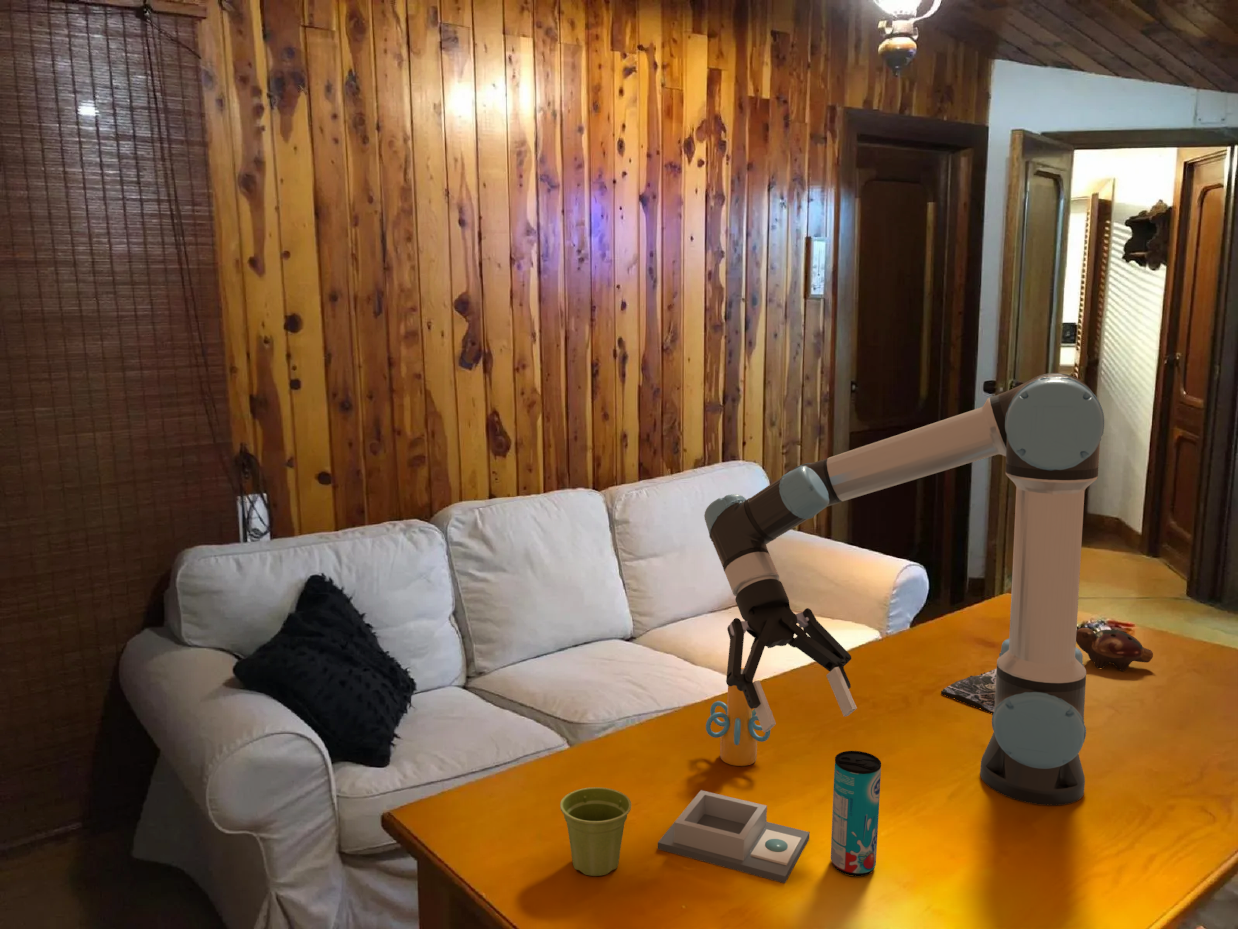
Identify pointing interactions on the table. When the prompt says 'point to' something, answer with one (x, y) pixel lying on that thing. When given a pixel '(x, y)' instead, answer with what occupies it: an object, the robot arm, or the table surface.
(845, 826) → the beverage can
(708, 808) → the can holder
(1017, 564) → the robot arm
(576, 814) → the plant pot
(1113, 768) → the table surface
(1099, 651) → the decorative turtle
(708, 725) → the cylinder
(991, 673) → the terrain model
